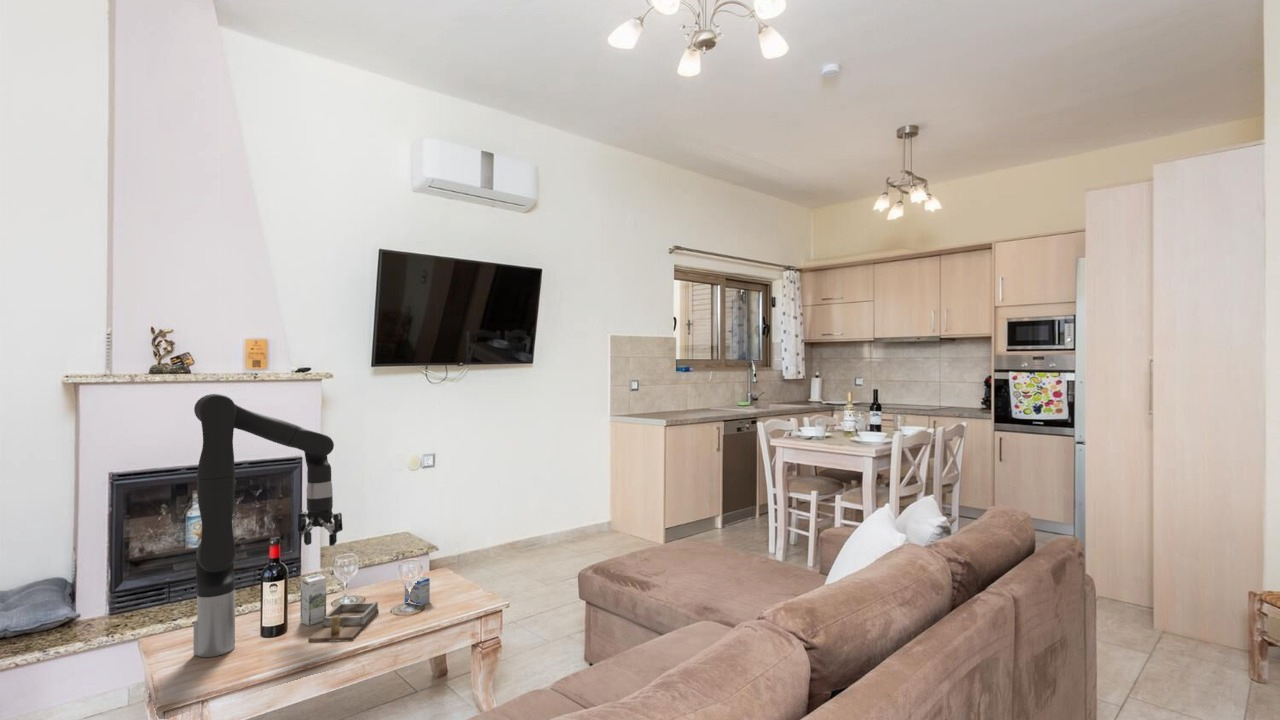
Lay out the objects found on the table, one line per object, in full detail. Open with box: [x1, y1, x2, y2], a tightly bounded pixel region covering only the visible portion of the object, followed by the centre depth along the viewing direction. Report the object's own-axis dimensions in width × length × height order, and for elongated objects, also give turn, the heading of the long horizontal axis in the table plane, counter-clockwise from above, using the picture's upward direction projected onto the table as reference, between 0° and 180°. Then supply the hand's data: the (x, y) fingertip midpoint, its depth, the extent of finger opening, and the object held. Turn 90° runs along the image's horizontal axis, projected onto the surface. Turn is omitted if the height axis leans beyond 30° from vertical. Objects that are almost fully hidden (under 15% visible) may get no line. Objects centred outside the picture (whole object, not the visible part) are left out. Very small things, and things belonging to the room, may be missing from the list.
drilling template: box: [308, 601, 380, 643], centre depth 201 cm, size 13×22×6 cm, turn 3°
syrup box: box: [300, 573, 327, 627], centre depth 205 cm, size 6×6×14 cm
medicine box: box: [404, 576, 431, 606], centre depth 221 cm, size 8×4×9 cm, turn 62°
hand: (320, 544), depth 205 cm, fingers open, 8 cm apart
